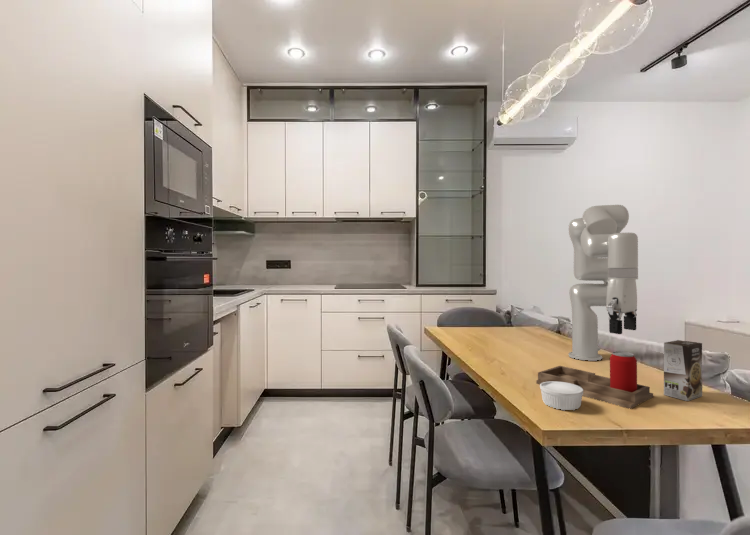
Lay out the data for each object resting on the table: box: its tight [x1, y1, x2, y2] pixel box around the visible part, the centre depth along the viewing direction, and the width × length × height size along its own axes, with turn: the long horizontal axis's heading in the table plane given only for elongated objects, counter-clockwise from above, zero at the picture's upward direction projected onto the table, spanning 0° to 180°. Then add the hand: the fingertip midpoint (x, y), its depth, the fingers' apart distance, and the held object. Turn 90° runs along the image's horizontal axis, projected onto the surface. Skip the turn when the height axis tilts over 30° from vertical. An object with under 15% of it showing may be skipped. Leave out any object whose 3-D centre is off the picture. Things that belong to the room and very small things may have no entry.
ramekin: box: [539, 381, 583, 411], centre depth 106 cm, size 11×11×5 cm
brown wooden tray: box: [535, 365, 654, 410], centre depth 118 cm, size 28×16×4 cm, turn 35°
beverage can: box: [609, 351, 638, 392], centre depth 111 cm, size 7×7×12 cm
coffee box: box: [663, 339, 703, 402], centre depth 112 cm, size 9×6×16 cm
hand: (623, 331), depth 111 cm, fingers open, 9 cm apart
